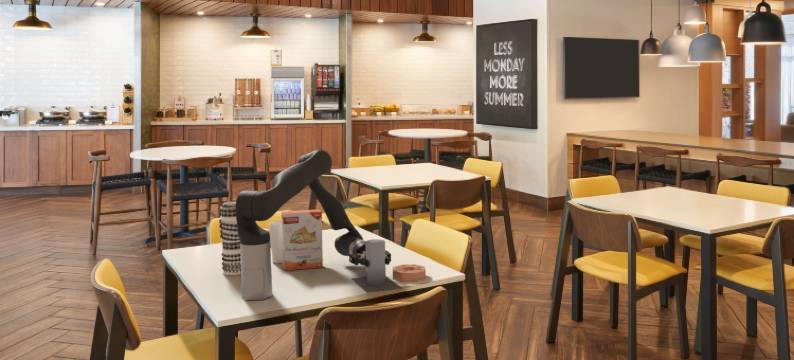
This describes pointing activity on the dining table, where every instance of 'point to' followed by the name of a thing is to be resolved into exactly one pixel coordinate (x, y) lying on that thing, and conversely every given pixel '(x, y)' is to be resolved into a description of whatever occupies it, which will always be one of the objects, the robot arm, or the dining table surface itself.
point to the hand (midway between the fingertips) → (378, 262)
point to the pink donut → (409, 272)
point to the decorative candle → (230, 240)
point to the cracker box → (302, 239)
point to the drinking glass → (276, 241)
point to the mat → (388, 286)
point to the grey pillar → (375, 262)
